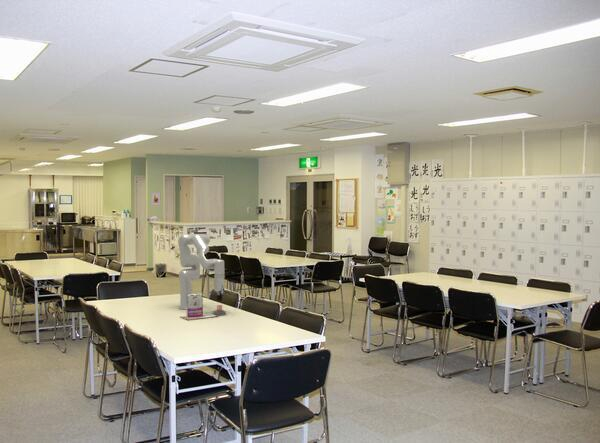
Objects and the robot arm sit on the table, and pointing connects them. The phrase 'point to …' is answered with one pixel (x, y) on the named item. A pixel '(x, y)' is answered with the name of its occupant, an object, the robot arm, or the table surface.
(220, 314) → the button housing
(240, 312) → the table surface
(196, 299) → the candy bar box
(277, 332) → the table surface
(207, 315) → the clipboard
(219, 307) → the button
